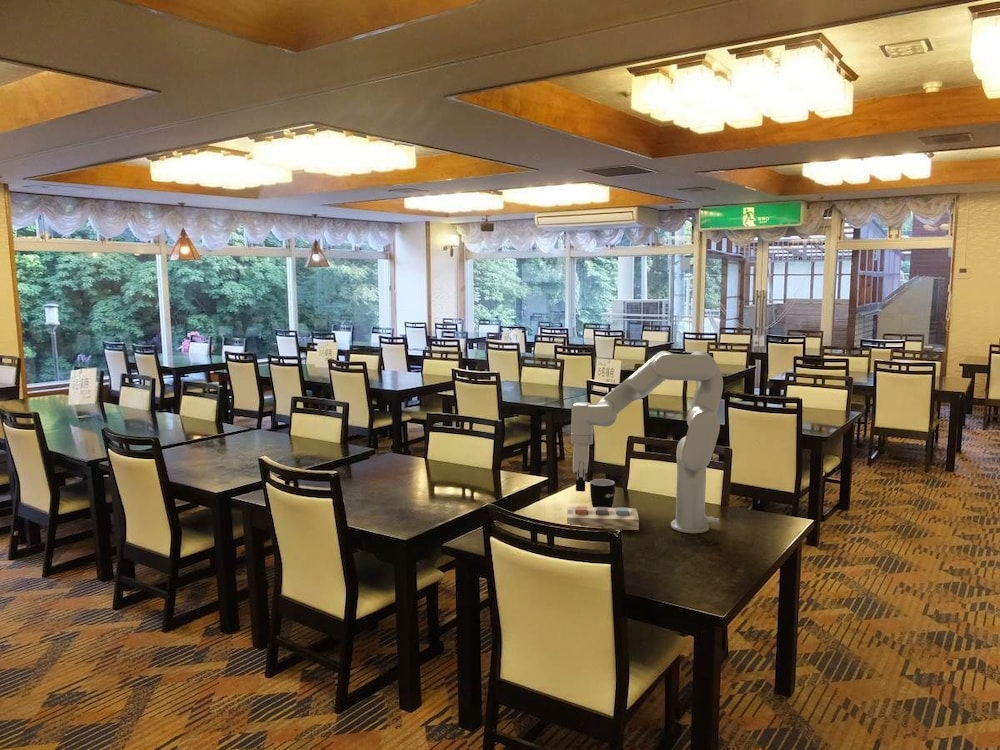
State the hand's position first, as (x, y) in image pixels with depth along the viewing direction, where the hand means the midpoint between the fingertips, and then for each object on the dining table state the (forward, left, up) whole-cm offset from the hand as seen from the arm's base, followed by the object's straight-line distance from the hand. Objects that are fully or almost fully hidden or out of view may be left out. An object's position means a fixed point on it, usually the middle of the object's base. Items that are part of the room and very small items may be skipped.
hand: (580, 490), depth 249 cm
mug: (-9, -18, -12) cm, 23 cm away
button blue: (-15, 0, -9) cm, 17 cm away
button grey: (-8, 0, -9) cm, 12 cm away
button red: (-1, 0, -9) cm, 9 cm away
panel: (-8, 0, -12) cm, 14 cm away
